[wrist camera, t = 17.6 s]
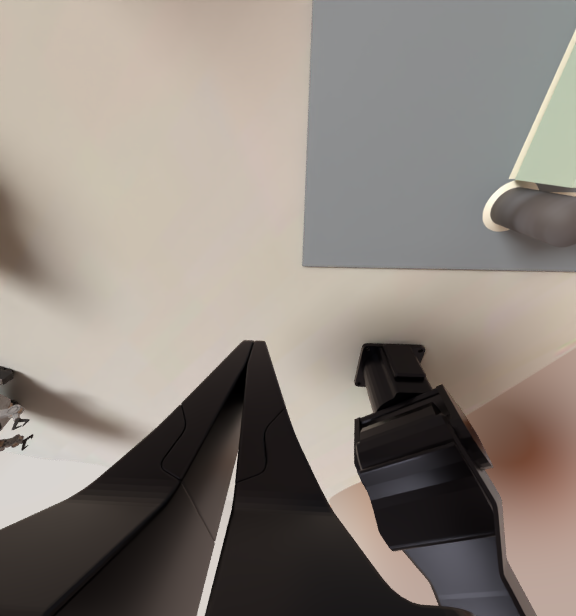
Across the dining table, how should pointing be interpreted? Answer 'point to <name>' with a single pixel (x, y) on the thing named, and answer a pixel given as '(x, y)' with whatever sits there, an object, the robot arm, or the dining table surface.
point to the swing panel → (555, 136)
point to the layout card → (428, 130)
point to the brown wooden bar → (537, 215)
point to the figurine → (10, 414)
